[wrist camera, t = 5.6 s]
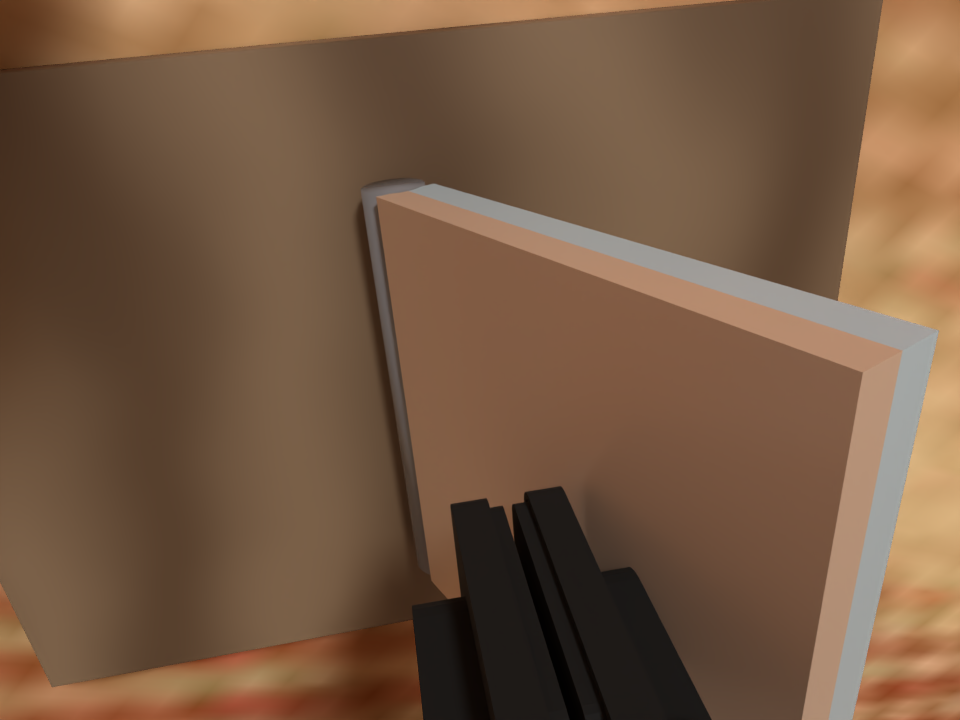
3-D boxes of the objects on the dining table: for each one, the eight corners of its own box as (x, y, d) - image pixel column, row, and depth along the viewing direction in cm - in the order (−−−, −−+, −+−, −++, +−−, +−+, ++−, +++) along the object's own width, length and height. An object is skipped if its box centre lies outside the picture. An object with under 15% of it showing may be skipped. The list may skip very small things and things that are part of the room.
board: (71, 640, 20) (52, 687, 18) (-182, 86, 13) (-240, 96, 12) (772, 513, 22) (800, 547, 21) (837, -10, 16) (884, -11, 14)
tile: (762, 945, 10) (814, 889, 11) (863, 371, 6) (938, 330, 7) (408, 555, 18) (450, 534, 18) (349, 187, 14) (405, 174, 14)
